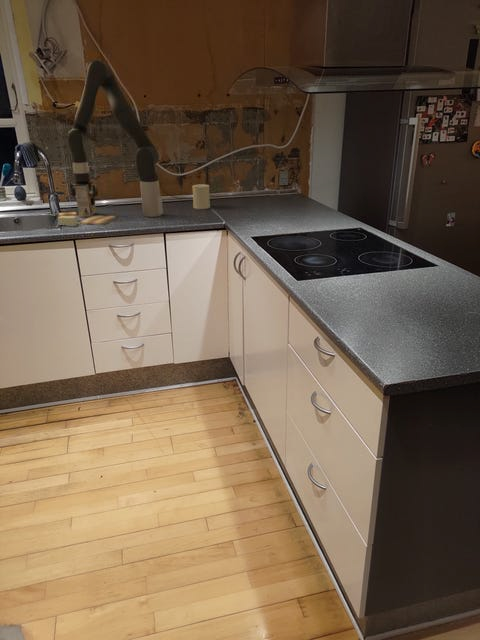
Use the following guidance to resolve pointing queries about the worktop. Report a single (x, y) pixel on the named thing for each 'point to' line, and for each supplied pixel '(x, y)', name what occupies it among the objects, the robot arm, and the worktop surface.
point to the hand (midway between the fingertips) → (86, 204)
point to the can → (201, 196)
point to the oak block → (67, 214)
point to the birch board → (98, 220)
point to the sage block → (68, 220)
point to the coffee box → (84, 200)
